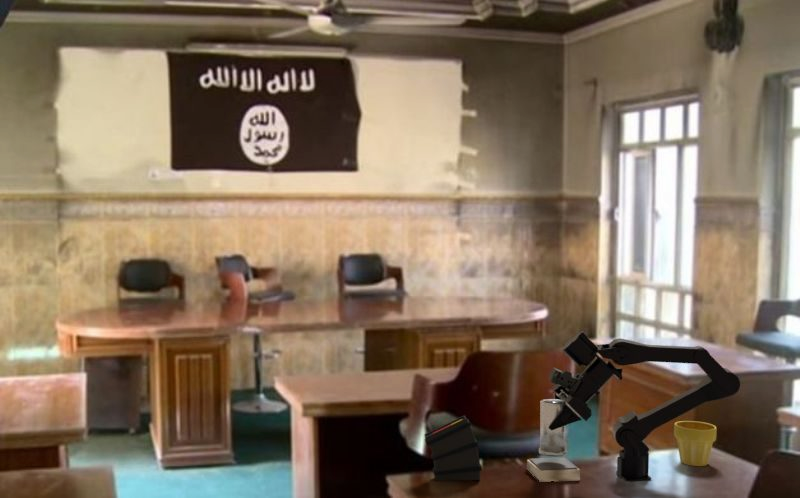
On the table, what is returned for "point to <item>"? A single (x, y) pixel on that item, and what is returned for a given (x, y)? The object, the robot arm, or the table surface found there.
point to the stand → (553, 469)
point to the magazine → (454, 451)
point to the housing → (551, 439)
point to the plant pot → (694, 441)
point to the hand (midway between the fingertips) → (547, 425)
